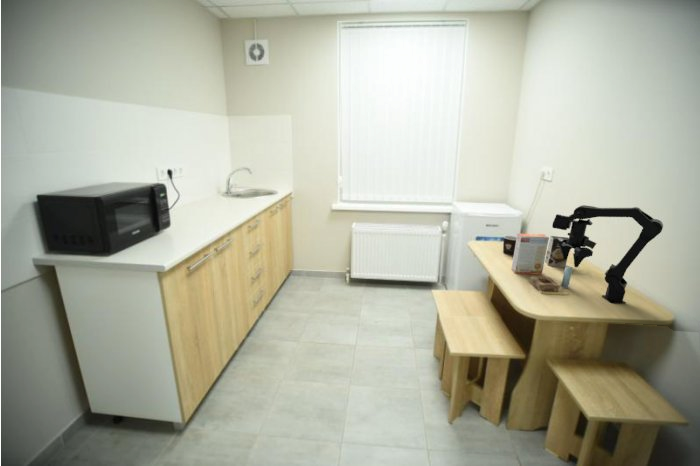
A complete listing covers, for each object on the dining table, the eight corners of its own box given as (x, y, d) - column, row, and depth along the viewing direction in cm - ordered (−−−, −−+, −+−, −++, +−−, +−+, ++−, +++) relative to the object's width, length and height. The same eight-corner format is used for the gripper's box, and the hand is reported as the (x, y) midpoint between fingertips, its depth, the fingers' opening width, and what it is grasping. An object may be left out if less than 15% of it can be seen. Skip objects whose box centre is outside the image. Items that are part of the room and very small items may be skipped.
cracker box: (536, 270, 183) (544, 233, 177) (542, 274, 177) (549, 237, 171) (510, 269, 184) (517, 232, 178) (514, 273, 178) (521, 236, 172)
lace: (568, 294, 155) (568, 293, 155) (541, 293, 156) (541, 292, 156) (563, 290, 159) (564, 289, 159) (537, 289, 160) (537, 288, 160)
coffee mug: (498, 251, 210) (500, 236, 208) (507, 250, 214) (510, 235, 211) (513, 258, 200) (516, 242, 197) (523, 256, 204) (526, 240, 201)
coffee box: (548, 265, 190) (553, 238, 185) (544, 261, 196) (550, 235, 191) (565, 267, 188) (572, 240, 183) (561, 263, 194) (567, 236, 189)
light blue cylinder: (569, 288, 162) (574, 269, 159) (563, 288, 162) (567, 269, 160) (566, 285, 165) (570, 266, 162) (559, 285, 165) (564, 266, 162)
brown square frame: (558, 292, 158) (559, 285, 157) (538, 291, 158) (540, 284, 157) (548, 283, 166) (549, 277, 165) (529, 283, 167) (531, 276, 166)
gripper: (608, 239, 147) (600, 271, 152) (583, 227, 165) (576, 257, 169) (582, 238, 148) (575, 270, 152) (560, 226, 166) (553, 256, 170)
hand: (570, 263), depth 161 cm, fingers open, 9 cm apart
